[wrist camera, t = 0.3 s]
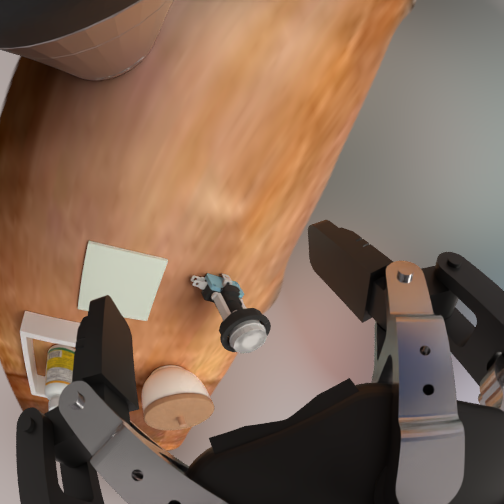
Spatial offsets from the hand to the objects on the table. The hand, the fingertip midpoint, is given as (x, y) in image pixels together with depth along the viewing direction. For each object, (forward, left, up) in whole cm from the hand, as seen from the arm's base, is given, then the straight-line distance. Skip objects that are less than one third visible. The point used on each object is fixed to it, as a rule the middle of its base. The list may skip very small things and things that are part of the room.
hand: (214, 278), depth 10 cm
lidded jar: (+29, -14, -18) cm, 37 cm away
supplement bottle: (+16, -25, -18) cm, 34 cm away
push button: (+16, 0, -18) cm, 24 cm away
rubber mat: (+10, -10, -18) cm, 23 cm away
